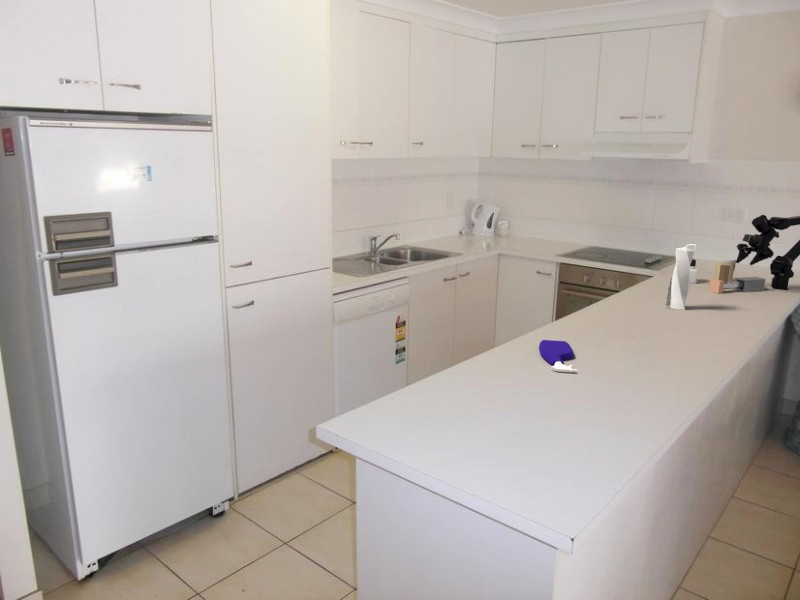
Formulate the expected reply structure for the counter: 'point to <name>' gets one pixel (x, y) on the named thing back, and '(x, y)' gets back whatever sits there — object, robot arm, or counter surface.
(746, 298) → the counter surface
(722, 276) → the brown and silver piece
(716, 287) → the socket block
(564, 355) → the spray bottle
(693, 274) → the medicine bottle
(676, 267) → the skyscraper
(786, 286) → the robot arm
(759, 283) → the steel block
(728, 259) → the coffee cup
